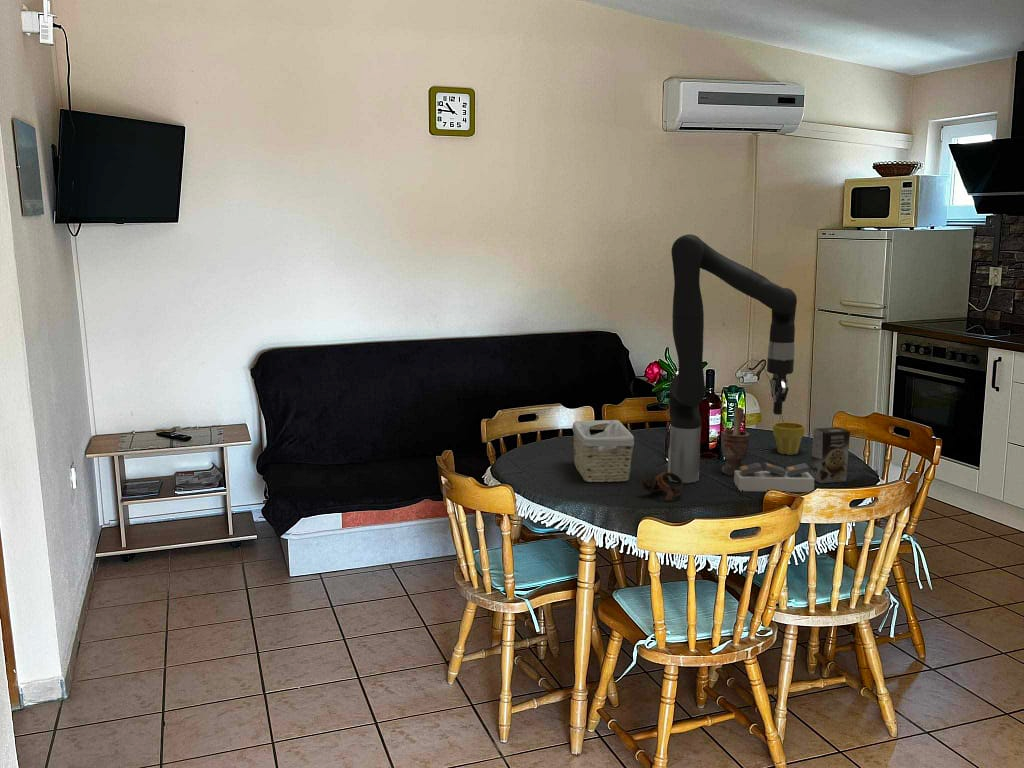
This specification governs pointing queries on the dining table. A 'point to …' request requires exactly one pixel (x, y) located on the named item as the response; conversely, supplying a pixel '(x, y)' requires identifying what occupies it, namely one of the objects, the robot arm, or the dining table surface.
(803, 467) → the rocker
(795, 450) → the plant pot
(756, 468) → the rocker
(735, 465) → the mortar and pestle
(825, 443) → the brown cookie box
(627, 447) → the storage basket
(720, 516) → the dining table surface
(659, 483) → the brown looped piece
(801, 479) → the power strip
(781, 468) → the rocker
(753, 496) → the dining table surface
